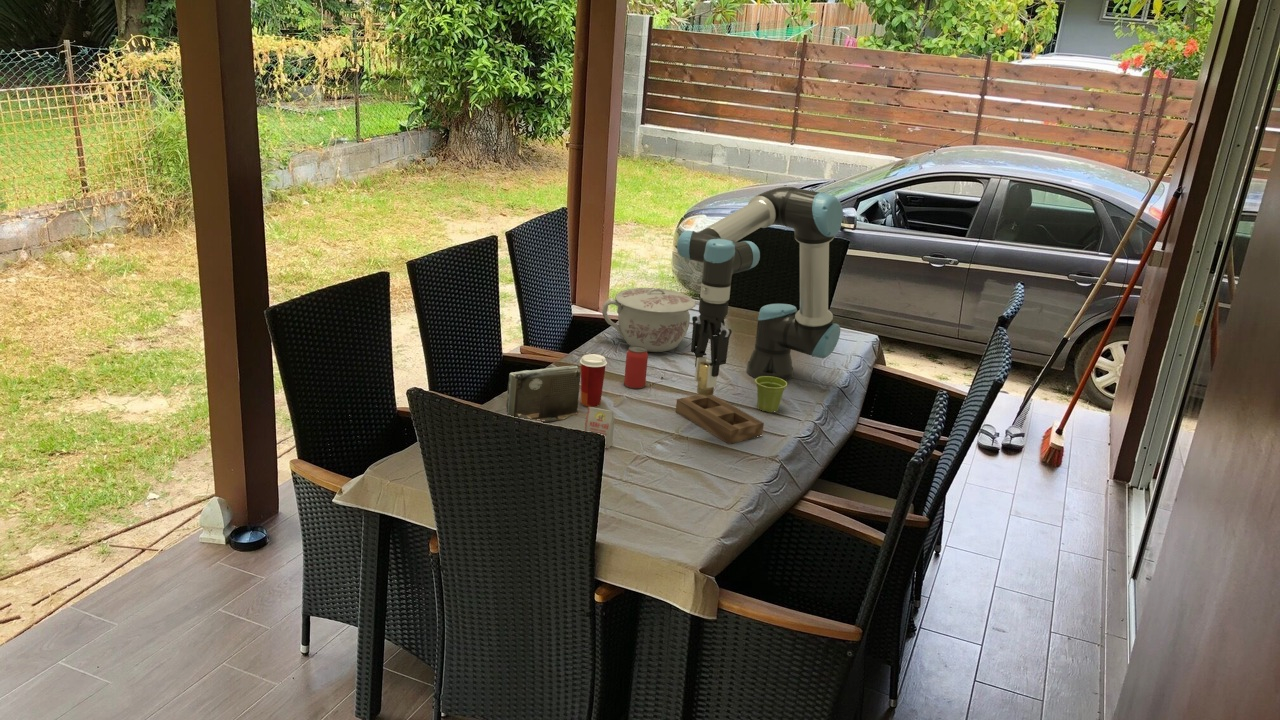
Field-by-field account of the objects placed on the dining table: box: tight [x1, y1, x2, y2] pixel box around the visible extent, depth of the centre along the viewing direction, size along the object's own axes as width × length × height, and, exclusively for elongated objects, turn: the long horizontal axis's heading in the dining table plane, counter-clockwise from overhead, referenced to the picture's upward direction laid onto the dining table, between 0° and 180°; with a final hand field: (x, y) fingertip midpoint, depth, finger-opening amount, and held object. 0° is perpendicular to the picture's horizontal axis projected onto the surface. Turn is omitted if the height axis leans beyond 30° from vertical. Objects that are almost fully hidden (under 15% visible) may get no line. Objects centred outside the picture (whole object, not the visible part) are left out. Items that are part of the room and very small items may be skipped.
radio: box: [505, 364, 581, 423], centre depth 267 cm, size 23×9×15 cm, turn 122°
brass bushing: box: [696, 361, 715, 396], centre depth 258 cm, size 4×4×8 cm
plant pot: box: [754, 376, 788, 413], centre depth 287 cm, size 9×9×9 cm
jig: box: [675, 394, 765, 445], centre depth 274 cm, size 12×24×4 cm, turn 36°
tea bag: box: [584, 406, 615, 450], centre depth 255 cm, size 4×7×10 cm, turn 74°
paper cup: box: [579, 353, 608, 408], centre depth 280 cm, size 8×8×14 cm
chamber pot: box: [601, 287, 697, 353], centre depth 330 cm, size 28×28×21 cm
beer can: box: [623, 346, 649, 390], centre depth 296 cm, size 7×7×12 cm
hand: (705, 383), depth 258 cm, fingers closed on brass bushing, 4 cm apart
